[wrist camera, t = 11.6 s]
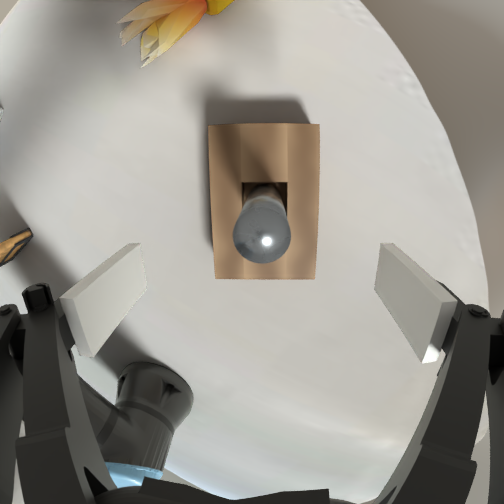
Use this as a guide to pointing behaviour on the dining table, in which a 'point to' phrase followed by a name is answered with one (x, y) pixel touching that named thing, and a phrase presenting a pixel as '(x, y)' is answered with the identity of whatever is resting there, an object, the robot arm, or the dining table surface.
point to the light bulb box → (1, 112)
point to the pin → (262, 226)
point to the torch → (165, 22)
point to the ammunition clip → (14, 245)
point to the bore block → (270, 172)
